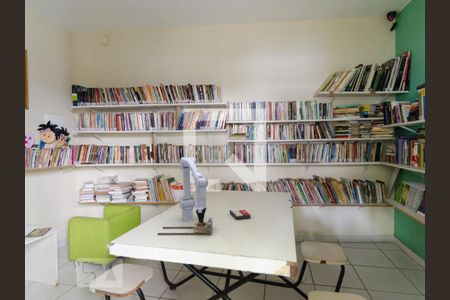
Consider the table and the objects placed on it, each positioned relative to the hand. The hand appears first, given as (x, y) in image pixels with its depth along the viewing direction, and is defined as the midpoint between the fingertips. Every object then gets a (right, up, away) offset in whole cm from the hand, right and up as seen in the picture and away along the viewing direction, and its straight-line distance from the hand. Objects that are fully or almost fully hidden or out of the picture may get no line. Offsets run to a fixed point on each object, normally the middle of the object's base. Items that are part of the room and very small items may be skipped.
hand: (201, 221), depth 121 cm
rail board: (-9, -7, 0) cm, 11 cm away
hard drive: (+25, -8, +32) cm, 41 cm away
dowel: (0, -2, 0) cm, 2 cm away
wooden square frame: (0, -6, 0) cm, 6 cm away
